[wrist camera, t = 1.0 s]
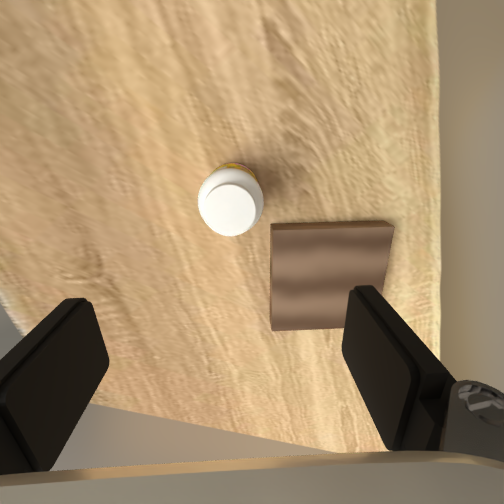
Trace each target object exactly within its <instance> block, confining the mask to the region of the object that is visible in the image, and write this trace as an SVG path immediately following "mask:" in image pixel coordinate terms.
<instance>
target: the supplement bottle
mask: <svg viewBox="0 0 504 504" xmlns="http://www.w3.org/2000/svg"><path fill="white" fill-rule="evenodd" d="M263 207H264V199H263V193H262V190H261V188H260V186H259V183H258V181H257V179H256V177H255V175H254V174H253V173H252V171H251V170H250V169H248V168H247V167H245V166H244V165H241V164H238V163H227V164H224V165H221V166H219V167H218V168H216V169H215V170H214V171H213V172H212V173H211V174H210V175H209V177H208V178H207V179H206V180H205V181H204V183H203V184H202V186H201V188H200V191H199V194H198V208H199V212H200V214H201V216H202V218H203V220H204V221H205V223H206V224H207V225H208V226H209V227H210V228H211V229H212V230H214V231H215V232H217V233H219V234H221V235H224V236H236V235H240V234H242V233H244V232H246V231H248V230H249V229H250V228H252V227H253V226H254V225H255V224H256V223H257V221H258V220H259V218H260V216H261V214H262V211H263Z"/></svg>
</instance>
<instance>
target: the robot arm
mask: <svg viewBox="0 0 504 504" xmlns="http://www.w3.org/2000/svg"><path fill="white" fill-rule="evenodd" d="M342 354H343V357H344V359H345V361H346V364H347V366H348V368H349V370H350V372H351V374H352V376H353V379H354V381H355V383H356V385H357V387H358V389H359V391H360V394H361V396H362V398H363V400H364V402H365V404H366V406H367V409H368V411H369V413H370V415H371V417H372V419H373V421H374V424H375V426H376V428H377V430H378V432H379V434H380V436H381V439H382V441H383V443H384V445H385V447H386V448H387V449H388V450H389V451H386V452H359V453H337V454H319V455H301V456H285V457H266V458H248V459H232V460H215V461H200V462H183V463H168V464H151V465H137V466H121V467H107V468H91V469H76V470H62V471H49V470H50V469H51V468H52V467H53V465H54V464H55V462H56V460H57V458H58V457H59V455H60V453H61V451H62V450H63V448H64V446H65V444H66V442H67V441H68V439H69V437H70V435H71V433H72V432H73V430H74V428H75V426H76V424H77V423H78V421H79V419H80V417H81V415H82V414H83V412H84V410H85V409H86V407H87V405H88V403H89V401H90V400H91V398H92V396H93V394H94V393H95V391H96V389H97V387H98V385H99V384H100V382H101V380H102V378H103V377H104V375H105V373H106V371H107V369H108V367H109V356H108V353H107V350H106V347H105V343H104V340H103V337H102V334H101V331H100V327H99V324H98V321H97V318H96V315H95V311H94V308H93V305H92V303H91V302H88V301H87V300H86V299H85V298H68V299H65V300H63V301H62V302H61V303H60V304H59V305H58V306H57V307H56V308H55V309H54V310H53V311H52V312H51V313H50V314H49V315H47V316H46V317H45V318H44V319H43V320H42V321H41V322H40V323H39V324H38V325H37V326H36V327H35V328H34V329H33V330H32V331H31V332H29V333H28V334H27V335H26V336H25V337H24V338H23V339H22V340H21V341H20V342H19V343H18V344H17V345H16V346H15V347H14V348H13V349H11V350H10V351H9V352H8V353H7V354H6V355H5V356H4V357H3V358H2V359H1V360H0V504H504V393H502V392H501V391H499V390H497V389H495V388H493V387H491V386H489V385H487V384H484V383H481V382H478V381H470V380H463V381H458V382H457V381H456V380H455V379H454V378H453V376H452V375H451V374H450V373H449V371H448V370H447V369H446V368H445V367H444V366H443V365H442V363H441V362H440V361H439V360H438V359H437V358H436V356H435V355H434V354H433V353H432V352H431V351H430V350H429V349H428V347H427V346H426V345H425V344H424V343H423V342H422V341H421V339H420V338H419V337H418V336H417V335H416V334H415V333H414V332H413V330H412V329H411V328H410V327H409V326H408V325H407V324H406V322H405V321H404V320H403V319H402V318H401V317H400V316H399V315H398V313H397V312H396V311H395V310H394V309H393V308H392V307H391V305H390V304H389V303H388V302H387V301H386V300H385V299H384V297H383V296H382V295H381V294H380V293H379V292H378V291H377V290H376V288H375V287H374V286H373V285H358V286H355V287H354V290H350V292H349V297H348V304H347V311H346V319H345V326H344V333H343V341H342Z"/></svg>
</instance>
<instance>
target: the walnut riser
mask: <svg viewBox="0 0 504 504" xmlns="http://www.w3.org/2000/svg"><path fill="white" fill-rule="evenodd" d="M394 228H395V227H394V226H392V225H390V224H389V223H387V222H385V221H352V222H319V223H285V224H271V234H270V324H271V330H272V331H289V330H312V329H335V328H344V326H345V319H346V311H347V304H348V297H349V292H350V290H354V287H355V286H358V285H373V286H374V287H375V288H376V290H377V291H378V292H379V293H380V294H381V295H382V290H383V285H384V280H385V275H386V269H387V264H388V259H389V254H390V248H391V243H392V238H393V233H394Z"/></svg>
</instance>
